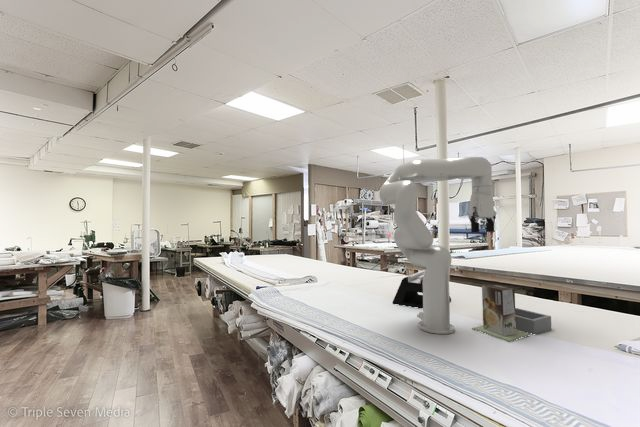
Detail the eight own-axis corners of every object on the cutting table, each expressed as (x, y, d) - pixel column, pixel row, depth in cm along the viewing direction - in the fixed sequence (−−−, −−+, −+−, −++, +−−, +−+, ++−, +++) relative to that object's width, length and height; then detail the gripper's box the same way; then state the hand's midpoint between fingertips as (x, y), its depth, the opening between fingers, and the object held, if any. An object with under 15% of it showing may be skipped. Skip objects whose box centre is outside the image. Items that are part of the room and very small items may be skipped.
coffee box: (517, 334, 108) (516, 288, 108) (504, 336, 106) (503, 290, 106) (494, 326, 116) (493, 283, 117) (481, 328, 114) (480, 285, 115)
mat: (472, 329, 115) (472, 327, 115) (492, 324, 120) (492, 322, 120) (509, 342, 102) (509, 340, 102) (530, 335, 108) (529, 334, 108)
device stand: (392, 304, 151) (392, 274, 152) (408, 295, 170) (408, 268, 170) (439, 312, 138) (438, 278, 139) (451, 301, 156) (450, 272, 157)
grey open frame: (495, 323, 121) (494, 308, 121) (512, 319, 127) (511, 304, 127) (534, 334, 109) (533, 318, 109) (551, 329, 114) (550, 313, 114)
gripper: (486, 193, 135) (487, 231, 134) (460, 191, 127) (461, 232, 126) (503, 191, 128) (504, 231, 128) (476, 189, 120) (477, 232, 120)
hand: (482, 232), depth 127 cm, fingers open, 9 cm apart
